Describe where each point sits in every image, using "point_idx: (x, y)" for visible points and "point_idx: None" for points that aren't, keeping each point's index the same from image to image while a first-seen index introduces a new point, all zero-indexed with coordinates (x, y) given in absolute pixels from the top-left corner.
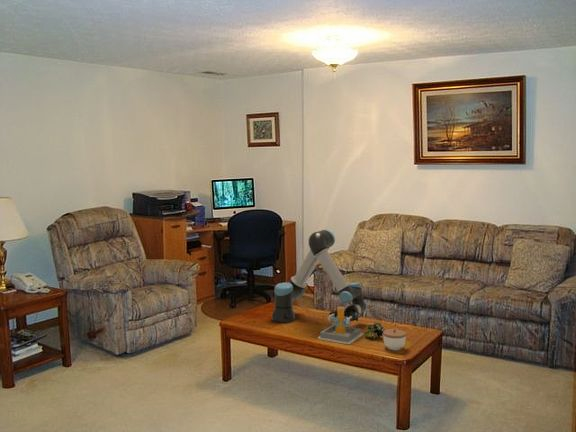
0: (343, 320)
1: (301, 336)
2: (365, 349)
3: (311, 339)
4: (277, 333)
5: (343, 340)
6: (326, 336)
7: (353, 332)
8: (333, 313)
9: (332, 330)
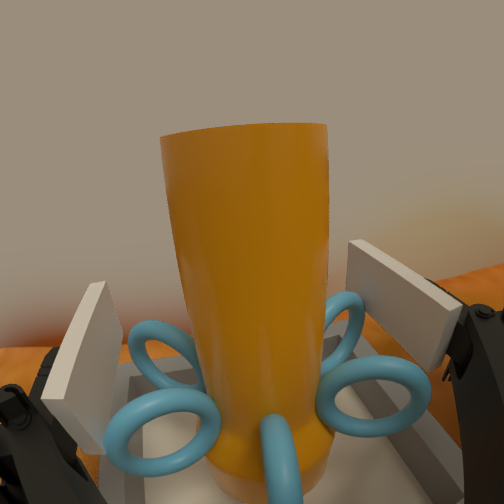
0: (176, 330)
1: None
2: (31, 374)
3: None
4: (481, 275)
5: None
6: None
7: (113, 475)
8: (478, 318)
9: (422, 480)
